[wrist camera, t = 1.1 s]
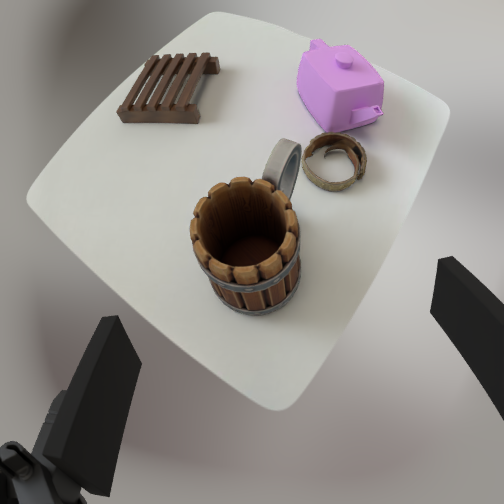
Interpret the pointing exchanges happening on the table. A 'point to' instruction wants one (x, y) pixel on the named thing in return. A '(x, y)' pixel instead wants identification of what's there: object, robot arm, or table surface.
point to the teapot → (339, 87)
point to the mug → (252, 236)
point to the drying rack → (167, 109)
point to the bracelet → (338, 142)
